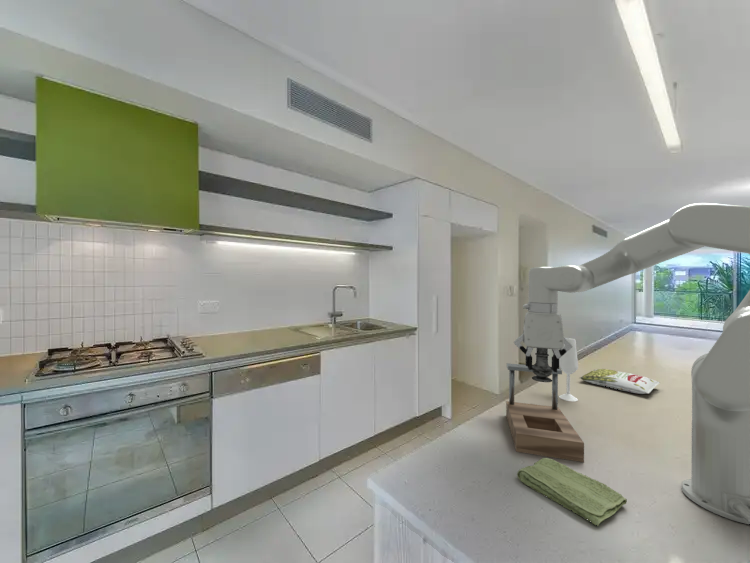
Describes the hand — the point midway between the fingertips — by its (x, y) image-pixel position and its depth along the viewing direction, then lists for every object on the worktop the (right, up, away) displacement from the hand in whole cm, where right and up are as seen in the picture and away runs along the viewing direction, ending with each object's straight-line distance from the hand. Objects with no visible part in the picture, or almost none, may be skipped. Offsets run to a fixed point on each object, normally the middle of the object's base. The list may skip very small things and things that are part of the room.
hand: (541, 369), depth 90 cm
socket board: (+1, -21, +3) cm, 21 cm away
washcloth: (-6, -21, -22) cm, 32 cm away
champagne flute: (+29, -22, +34) cm, 49 cm away
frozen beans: (+62, -22, +49) cm, 82 cm away
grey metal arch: (+4, -16, +12) cm, 20 cm away
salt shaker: (0, -3, 0) cm, 3 cm away
